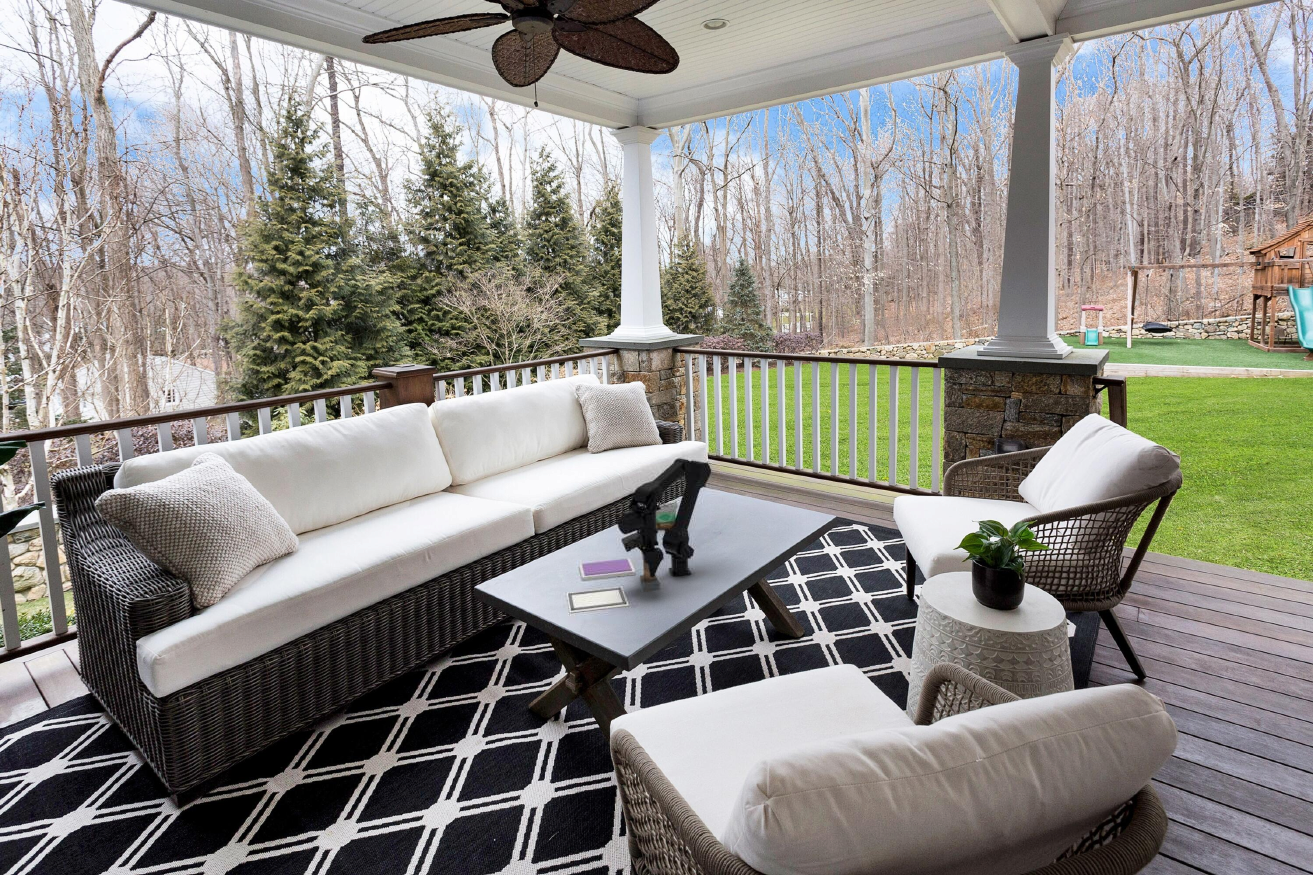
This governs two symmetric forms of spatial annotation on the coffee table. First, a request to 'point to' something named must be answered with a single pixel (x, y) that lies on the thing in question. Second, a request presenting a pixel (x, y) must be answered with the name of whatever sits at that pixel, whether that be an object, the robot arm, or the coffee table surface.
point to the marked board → (596, 599)
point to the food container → (666, 516)
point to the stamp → (648, 579)
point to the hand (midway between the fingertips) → (649, 571)
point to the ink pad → (606, 569)
